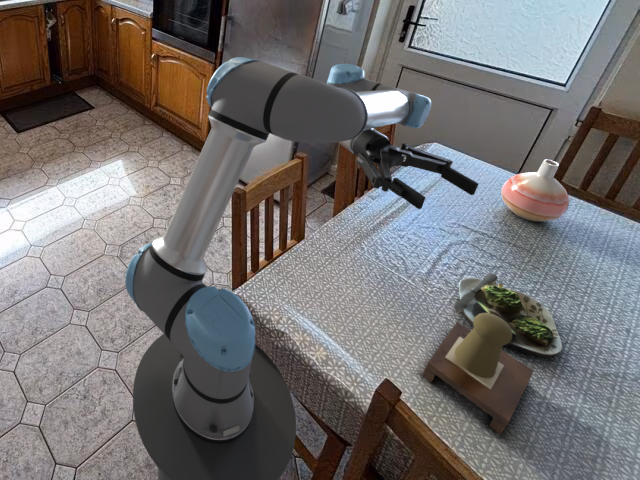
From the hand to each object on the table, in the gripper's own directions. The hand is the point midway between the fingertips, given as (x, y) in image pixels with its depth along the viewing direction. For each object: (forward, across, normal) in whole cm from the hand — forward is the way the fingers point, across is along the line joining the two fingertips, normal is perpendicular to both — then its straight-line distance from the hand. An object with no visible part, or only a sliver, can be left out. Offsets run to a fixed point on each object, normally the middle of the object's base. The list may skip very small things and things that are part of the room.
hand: (449, 196), depth 80 cm
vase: (-12, -57, -30) cm, 66 cm away
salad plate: (+9, -16, -30) cm, 35 cm away
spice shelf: (+17, +3, -30) cm, 34 cm away
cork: (+16, +3, -26) cm, 31 cm away
